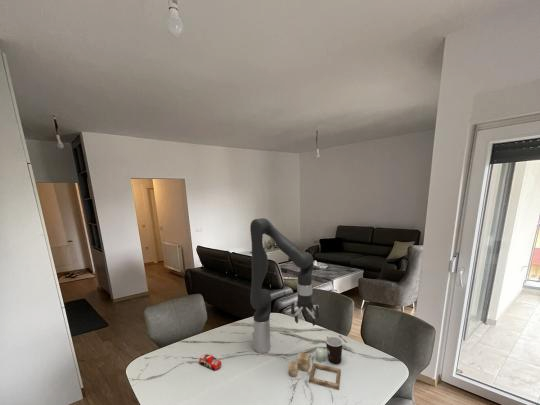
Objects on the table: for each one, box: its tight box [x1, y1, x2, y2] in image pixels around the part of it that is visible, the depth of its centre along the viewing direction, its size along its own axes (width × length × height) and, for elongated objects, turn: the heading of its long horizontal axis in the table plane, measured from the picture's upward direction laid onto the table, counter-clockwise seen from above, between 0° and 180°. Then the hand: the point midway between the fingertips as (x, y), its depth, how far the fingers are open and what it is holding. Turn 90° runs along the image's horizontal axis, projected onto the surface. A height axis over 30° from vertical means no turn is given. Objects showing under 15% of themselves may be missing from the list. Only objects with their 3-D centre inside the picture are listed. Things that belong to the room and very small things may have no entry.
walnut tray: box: [308, 362, 342, 391], centre depth 111 cm, size 14×12×2 cm
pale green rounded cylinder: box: [315, 347, 325, 363], centre depth 123 cm, size 4×4×5 cm
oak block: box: [297, 352, 311, 373], centre depth 117 cm, size 5×5×6 cm
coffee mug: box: [325, 336, 344, 366], centre depth 124 cm, size 12×9×10 cm
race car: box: [198, 353, 222, 371], centre depth 122 cm, size 13×5×4 cm, turn 59°
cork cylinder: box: [288, 360, 298, 378], centre depth 113 cm, size 4×4×5 cm
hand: (305, 323), depth 118 cm, fingers open, 8 cm apart
